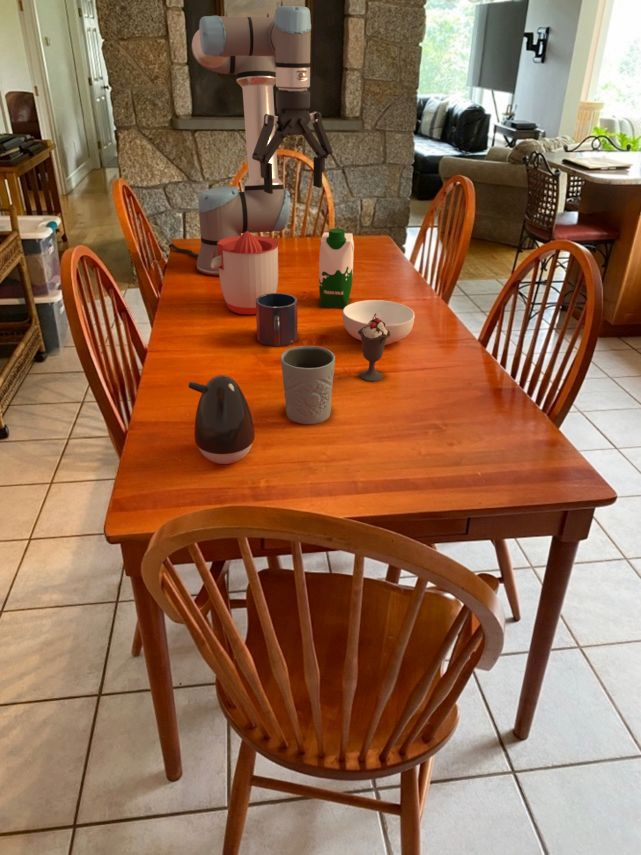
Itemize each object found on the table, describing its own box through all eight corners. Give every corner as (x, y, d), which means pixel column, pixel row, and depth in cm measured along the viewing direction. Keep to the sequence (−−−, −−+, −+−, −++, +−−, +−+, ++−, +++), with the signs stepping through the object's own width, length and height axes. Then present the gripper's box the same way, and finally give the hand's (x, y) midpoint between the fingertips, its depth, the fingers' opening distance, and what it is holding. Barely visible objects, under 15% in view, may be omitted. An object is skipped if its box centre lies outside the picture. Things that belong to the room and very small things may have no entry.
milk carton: (317, 308, 176) (318, 232, 165) (320, 296, 183) (321, 223, 173) (350, 310, 175) (353, 233, 165) (352, 298, 183) (355, 224, 172)
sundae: (366, 385, 138) (370, 318, 131) (350, 372, 143) (353, 307, 136) (392, 379, 141) (398, 313, 133) (376, 367, 146) (380, 302, 138)
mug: (257, 330, 163) (256, 292, 158) (296, 329, 163) (296, 292, 158) (256, 353, 151) (254, 313, 146) (298, 352, 152) (298, 313, 147)
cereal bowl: (426, 339, 159) (429, 311, 156) (383, 360, 149) (385, 331, 145) (371, 320, 169) (373, 293, 165) (327, 339, 159) (327, 311, 155)
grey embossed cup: (315, 431, 122) (316, 373, 116) (270, 416, 127) (269, 359, 121) (343, 409, 130) (345, 353, 124) (300, 395, 134) (300, 340, 128)
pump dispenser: (197, 440, 119) (190, 363, 111) (255, 438, 120) (252, 362, 112) (192, 473, 111) (184, 392, 103) (255, 471, 111) (252, 391, 104)
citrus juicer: (209, 301, 179) (203, 225, 169) (271, 294, 184) (269, 221, 173) (220, 322, 166) (214, 242, 156) (286, 315, 171) (286, 237, 161)
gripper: (250, 92, 137) (254, 198, 148) (349, 88, 149) (345, 187, 160) (234, 89, 143) (239, 192, 154) (330, 86, 155) (328, 181, 166)
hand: (293, 189), depth 157 cm, fingers open, 13 cm apart
